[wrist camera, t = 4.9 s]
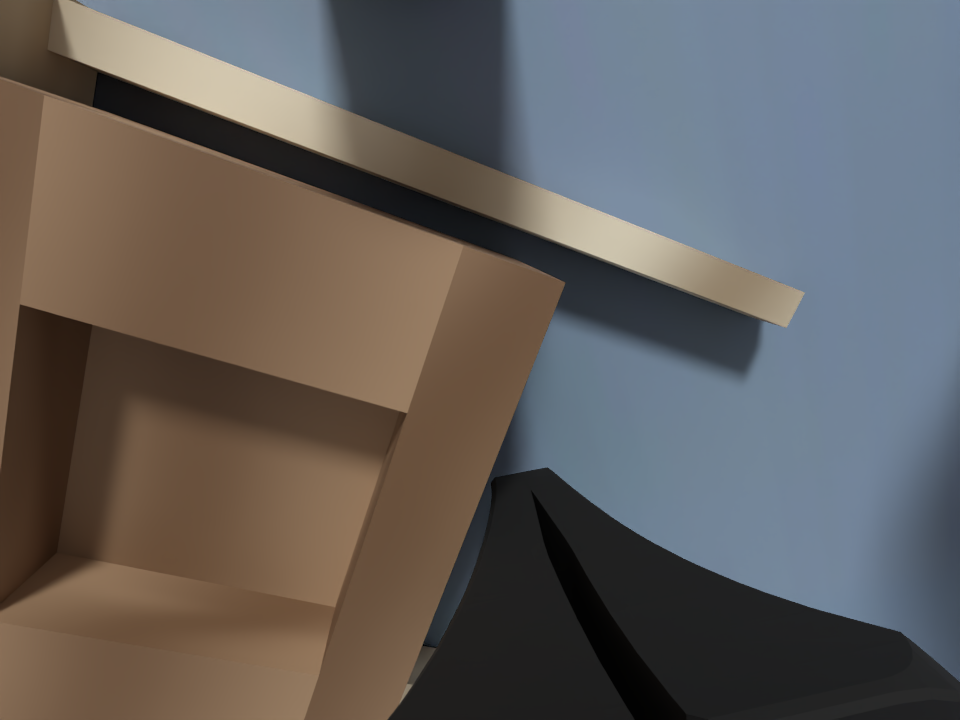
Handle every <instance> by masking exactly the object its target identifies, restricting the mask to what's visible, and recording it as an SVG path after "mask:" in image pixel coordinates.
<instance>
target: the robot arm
mask: <svg viewBox="0 0 960 720" xmlns="http://www.w3.org/2000/svg"><path fill="white" fill-rule="evenodd" d="M491 488H492V500H491V508H490V514H489V519H488V523H487V528H486V532H485V536H484V540H483V543H482V547H481V550H480V553H479V556H478V559H477V562H476V565H475V568H474V571H473V574H472V576H471V579H470V581H469V584H468V586H467V589H466V591H465V593H464V595H463V598H462V600H461V602H460V604H459V606H458V608H457V610H456V612H455V614H454V616H453V618H452V620H451V622H450V624H449V626H448V628H447V630H446V632H445V634H444V635H443V637H442V639H441V641H440V643H439V644H438V646H437V648H436V649H435V651H434V653H433V654H432V656H431V657H430V659H429V660H428V662H427V664H426V665H425V667H424V668H423V670H422V671H421V673H420V674H419V676H418V678H417V679H416V681H415V682H414V684H413V685H412V687H411V689H410V690H409V691H408V693H407V694H406V696H405V697H404V698H403V700H402V701H401V703H400V704H399V705H398V707H397V708H396V709H395V710H394V712H393V713H392V714H391V716H390V717H389V718H388V720H960V682H959V681H958V680H957V679H956V678H954V677H953V676H952V675H951V674H950V673H949V672H948V671H947V670H945V669H944V668H943V667H942V666H941V665H940V664H939V663H937V662H936V661H935V660H934V659H933V658H931V657H930V656H929V655H928V654H927V653H925V652H924V651H923V650H922V649H921V648H920V647H918V646H917V645H916V644H915V643H914V642H912V641H911V640H910V639H908V638H907V637H906V636H904V635H903V634H902V633H901V632H898V631H895V630H891V629H887V628H883V627H880V626H876V625H872V624H869V623H865V622H861V621H857V620H854V619H850V618H846V617H843V616H839V615H835V614H831V613H828V612H824V611H820V610H817V609H813V608H810V607H807V606H804V605H801V604H798V603H795V602H792V601H789V600H786V599H783V598H780V597H777V596H774V595H771V594H768V593H765V592H762V591H760V590H757V589H754V588H752V587H749V586H746V585H744V584H741V583H738V582H736V581H733V580H731V579H729V578H726V577H724V576H722V575H719V574H717V573H715V572H712V571H710V570H707V569H705V568H703V567H700V566H698V565H696V564H694V563H692V562H690V561H688V560H685V559H683V558H681V557H679V556H677V555H676V554H674V553H672V552H670V551H668V550H666V549H664V548H662V547H660V546H658V545H656V544H654V543H653V542H651V541H649V540H647V539H646V538H644V537H642V536H640V535H639V534H637V533H635V532H634V531H632V530H631V529H629V528H627V527H626V526H624V525H623V524H621V523H620V522H618V521H617V520H615V519H614V518H612V517H611V516H609V515H608V514H606V513H605V512H604V511H602V510H601V509H600V508H598V507H597V506H595V505H594V504H593V503H591V502H590V501H589V500H587V499H586V498H585V497H583V496H582V495H581V494H580V493H578V492H577V491H576V490H575V489H573V488H572V487H571V486H570V485H569V484H567V483H566V482H565V481H564V480H562V479H561V478H560V477H559V476H558V475H557V474H555V473H554V472H553V471H552V470H550V469H549V468H542V469H537V470H532V471H526V472H521V473H516V474H511V475H505V476H500V477H495V478H494V479H493V481H492V482H491Z"/></svg>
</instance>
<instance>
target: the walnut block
mask: <svg viewBox="0 0 960 720" xmlns="http://www.w3.org/2000/svg"><path fill="white" fill-rule="evenodd" d="M564 286H565V282H563V281H561V280H559V279H557V278H555V277H552V276H550V275H548V274H546V273H544V272H542V271H540V270H537V269H535V268H533V267H531V266H529V265H527V264H525V263H522V262H520V261H518V260H516V259H514V258H511V257H508V256H505V255H503V254H500V253H497V252H494V251H492V250H489V249H486V248H483V247H480V246H478V245H475V244H472V243H469V242H467V241H464V240H461V239H458V238H456V237H453V236H450V235H447V234H445V233H442V232H439V231H436V230H433V229H431V228H428V227H425V226H422V225H420V224H417V223H414V222H411V221H409V220H406V219H403V218H400V217H398V216H395V215H392V214H389V213H387V212H384V211H381V210H378V209H375V208H373V207H370V206H367V205H364V204H362V203H359V202H356V201H353V200H351V199H348V198H345V197H342V196H340V195H337V194H334V193H331V192H329V191H326V190H323V189H320V188H317V187H315V186H312V185H309V184H306V183H304V182H301V181H298V180H295V179H293V178H290V177H287V176H284V175H282V174H279V173H276V172H273V171H270V170H268V169H265V168H262V167H259V166H257V165H254V164H251V163H248V162H246V161H243V160H240V159H237V158H235V157H232V156H229V155H226V154H224V153H221V152H218V151H215V150H212V149H210V148H207V147H204V146H201V145H199V144H196V143H193V142H190V141H188V140H185V139H182V138H179V137H177V136H174V135H171V134H168V133H166V132H163V131H160V130H157V129H154V128H152V127H149V126H146V125H143V124H141V123H138V122H135V121H132V120H130V119H127V118H124V117H121V116H119V115H116V114H113V113H110V112H107V111H104V110H101V109H98V108H95V107H91V106H88V105H85V104H82V103H79V102H76V101H73V100H70V99H67V98H64V97H61V96H58V95H55V94H52V93H49V92H46V91H43V90H40V89H37V88H34V87H31V86H28V85H25V84H22V83H19V82H16V81H13V80H10V79H7V78H4V77H1V76H0V720H388V718H389V717H390V716H391V714H392V713H393V712H394V710H395V709H396V708H397V707H398V705H399V703H400V701H401V698H402V695H403V693H404V690H405V688H406V685H407V683H408V680H409V678H410V675H411V673H412V670H413V668H414V665H415V663H416V660H417V657H418V655H419V652H420V650H421V647H422V645H423V642H424V640H425V637H426V635H427V632H428V630H429V627H430V625H431V622H432V620H433V617H434V614H435V612H436V609H437V607H438V604H439V602H440V599H441V597H442V594H443V592H444V589H445V587H446V584H447V582H448V579H449V577H450V574H451V571H452V569H453V566H454V564H455V561H456V559H457V556H458V554H459V551H460V549H461V546H462V544H463V541H464V539H465V536H466V534H467V531H468V528H469V526H470V523H471V521H472V518H473V516H474V513H475V511H476V508H477V506H478V503H479V501H480V498H481V496H482V493H483V490H484V488H485V485H486V483H487V480H488V478H489V475H490V473H491V470H492V468H493V465H494V463H495V460H496V458H497V455H498V453H499V450H500V447H501V445H502V442H503V440H504V437H505V435H506V432H507V430H508V427H509V425H510V422H511V420H512V417H513V415H514V412H515V410H516V407H517V404H518V402H519V399H520V397H521V394H522V392H523V389H524V387H525V384H526V382H527V379H528V377H529V374H530V372H531V369H532V367H533V364H534V361H535V359H536V356H537V354H538V351H539V349H540V346H541V344H542V341H543V339H544V336H545V334H546V331H547V329H548V326H549V323H550V321H551V318H552V316H553V313H554V311H555V308H556V306H557V303H558V301H559V298H560V296H561V293H562V291H563V288H564Z"/></svg>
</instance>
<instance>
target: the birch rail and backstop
mask: <svg viewBox="0 0 960 720" xmlns="http://www.w3.org/2000/svg"><path fill="white" fill-rule="evenodd" d="M97 72H99V73H102V74H105V75H107V76H110V77H113V78H115V79H118V80H121V81H123V82H126V83H129V84H131V85H134V86H137V87H139V88H142V89H145V90H147V91H150V92H153V93H155V94H158V95H161V96H163V97H166V98H169V99H171V100H174V101H177V102H179V103H182V104H185V105H187V106H190V107H193V108H195V109H198V110H201V111H203V112H206V113H209V114H211V115H214V116H217V117H219V118H222V119H225V120H227V121H230V122H233V123H235V124H238V125H241V126H243V127H246V128H249V129H251V130H254V131H257V132H259V133H262V134H265V135H267V136H270V137H273V138H275V139H278V140H281V141H283V142H286V143H289V144H291V145H294V146H297V147H299V148H302V149H304V150H307V151H310V152H312V153H315V154H318V155H320V156H323V157H326V158H328V159H331V160H334V161H336V162H339V163H342V164H344V165H347V166H350V167H352V168H355V169H358V170H360V171H363V172H366V173H368V174H371V175H374V176H376V177H379V178H382V179H384V180H387V181H390V182H392V183H395V184H398V185H400V186H403V187H406V188H408V189H411V190H414V191H416V192H419V193H422V194H424V195H427V196H430V197H432V198H435V199H438V200H440V201H443V202H446V203H448V204H451V205H454V206H456V207H459V208H462V209H464V210H467V211H470V212H472V213H475V214H478V215H480V216H483V217H486V218H488V219H491V220H494V221H496V222H499V223H502V224H504V225H507V226H510V227H512V228H515V229H518V230H520V231H523V232H526V233H528V234H531V235H534V236H536V237H539V238H542V239H544V240H547V241H550V242H552V243H555V244H558V245H560V246H563V247H566V248H568V249H571V250H574V251H576V252H579V253H582V254H584V255H587V256H590V257H592V258H595V259H598V260H600V261H603V262H606V263H608V264H611V265H614V266H616V267H619V268H622V269H624V270H627V271H630V272H632V273H635V274H638V275H640V276H643V277H646V278H648V279H651V280H654V281H656V282H659V283H662V284H664V285H667V286H670V287H672V288H675V289H678V290H680V291H683V292H686V293H688V294H691V295H694V296H696V297H699V298H702V299H704V300H707V301H710V302H712V303H715V304H718V305H720V306H723V307H726V308H728V309H731V310H734V311H736V312H739V313H742V314H744V315H747V316H750V317H753V318H756V319H759V320H762V321H766V322H769V323H772V324H775V325H779V326H782V327H785V328H787V326H788V324H789V322H790V320H791V318H792V316H793V314H794V312H795V311H796V309H797V307H798V305H799V303H800V301H801V299H802V297H803V295H804V293H805V292H802V291H799V290H797V289H794V288H792V287H789V286H787V285H784V284H782V283H779V282H777V281H774V280H772V279H769V278H767V277H764V276H762V275H759V274H757V273H754V272H752V271H749V270H747V269H744V268H742V267H739V266H737V265H734V264H732V263H729V262H727V261H724V260H721V259H719V258H716V257H714V256H711V255H709V254H706V253H704V252H701V251H699V250H696V249H694V248H691V247H689V246H686V245H684V244H681V243H679V242H676V241H674V240H671V239H669V238H666V237H664V236H661V235H659V234H656V233H654V232H651V231H649V230H646V229H643V228H641V227H638V226H636V225H633V224H631V223H628V222H626V221H623V220H621V219H618V218H616V217H613V216H611V215H608V214H606V213H603V212H601V211H598V210H596V209H593V208H591V207H588V206H586V205H583V204H581V203H578V202H576V201H573V200H570V199H568V198H565V197H563V196H560V195H558V194H555V193H553V192H550V191H548V190H545V189H543V188H540V187H538V186H535V185H533V184H530V183H528V182H525V181H523V180H520V179H518V178H515V177H513V176H510V175H508V174H505V173H503V172H500V171H498V170H495V169H492V168H490V167H487V166H485V165H482V164H480V163H477V162H475V161H472V160H470V159H467V158H465V157H462V156H460V155H457V154H455V153H452V152H450V151H447V150H445V149H442V148H440V147H437V146H435V145H432V144H430V143H427V142H425V141H422V140H420V139H417V138H414V137H412V136H409V135H407V134H404V133H402V132H399V131H397V130H394V129H392V128H389V127H387V126H384V125H382V124H379V123H377V122H374V121H372V120H369V119H367V118H364V117H362V116H359V115H357V114H354V113H352V112H349V111H347V110H344V109H342V108H339V107H336V106H334V105H331V104H329V103H326V102H324V101H321V100H319V99H316V98H314V97H311V96H309V95H306V94H304V93H301V92H299V91H296V90H294V89H291V88H289V87H286V86H284V85H281V84H279V83H276V82H274V81H271V80H269V79H266V78H264V77H261V76H258V75H256V74H253V73H251V72H248V71H246V70H243V69H241V68H238V67H236V66H233V65H231V64H228V63H226V62H223V61H221V60H218V59H216V58H213V57H211V56H208V55H206V54H203V53H201V52H198V51H196V50H193V49H191V48H188V47H186V46H183V45H180V44H178V43H175V42H173V41H170V40H168V39H165V38H163V37H160V36H158V35H155V34H153V33H150V32H148V31H145V30H143V29H140V28H138V27H135V26H133V25H130V24H128V23H125V22H123V21H120V20H118V19H115V18H113V17H110V16H108V15H105V14H102V13H100V12H97V11H95V10H92V9H90V8H88V7H86V6H84V5H83V4H81V3H80V2H78V1H76V0H0V76H1V77H4V78H7V79H10V80H13V81H16V82H19V83H22V84H25V85H28V86H31V87H34V88H37V89H40V90H43V91H46V92H49V93H52V94H55V95H58V96H61V97H64V98H67V99H70V100H73V101H76V102H79V103H82V104H85V105H88V106H91V107H92V106H93V99H94V92H95V85H96V78H97ZM435 649H436V648H432V647H427V646H422V647H421V650H420V652H419V655H418V657H417V660H416V663H415V665H414V668H413V670H412V673H411V675H410V678H409V680H408V683H407V685H406V688H405V690H404V693H403V695H402V698H401V701H402V700H403V698H404V697H405V696H406V694H407V693H408V691H409V690H410V689H411V687H412V685H413V684H414V682H415V681H416V679H417V678H418V676H419V674H420V673H421V671H422V670H423V668H424V667H425V665H426V664H427V662H428V660H429V659H430V657H431V656H432V654H433V653H434V651H435ZM401 701H400V703H401ZM400 703H399V704H400Z"/></svg>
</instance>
